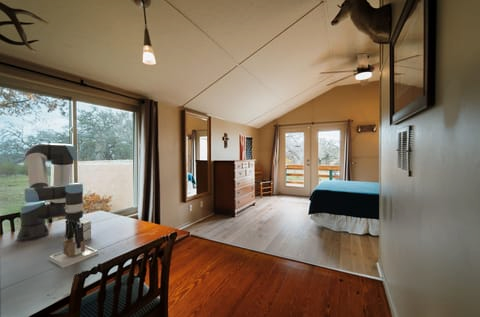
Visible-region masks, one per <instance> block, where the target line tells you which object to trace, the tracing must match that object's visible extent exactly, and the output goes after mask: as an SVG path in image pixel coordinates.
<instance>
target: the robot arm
mask: <svg viewBox="0 0 480 317" xmlns="http://www.w3.org/2000/svg"><path fill="white" fill-rule="evenodd" d="M77 157H78V156H77V152H76V148H75V145H73V144H71V143H69V144H68V143H46V142H45V143H38V144H36V145H33V146H32V147H30V148H29V149H28V150H27V151H26V153H25V155H24V160H25V163H26V164H27V169H28V170H27V172H28V173H27V174H28V186H29V188H28V187H27V188H25V189H24V202H26V203H25V204H23V205H22V206H21V207H20V212H19V214H20V228H19V230H18V233H17V236H16V241H18V242H29V241H35V240H39V239H42V238H44V237H47V236H48V235H49V234H50V230H49V227H48V226H47V224H46V220H49V219H56V218H57V219H58V218H61V217H63V218H65V234H64V237H65V238H66V240H69V239H72V238H74V236H75V243H74V244H75V255H77V254H79V253H81V242H82V241H84V237H83V223H80V222H81V220H80V219H81V218H83V217H84V202H83V200H84V184H83V183H82V182H71V181H70V180H71V178H70V177H71V166H72V165H73V164H74V162H76V161H77ZM46 162H50V164H51V165H52V166H53V183H52V184H53V185H52V186H49V185H50V184H49V179H48V173H47V164H46ZM75 228H76V229H75ZM73 235H74V236H73Z"/></svg>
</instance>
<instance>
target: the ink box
mask: <svg viewBox="0 0 480 317" xmlns="http://www.w3.org/2000/svg"><path fill="white" fill-rule="evenodd" d="M80 223H83V237H84V239H85V241H87V240H89V239H91V238H92V220H87V219H86V220H82V221H81V220H80ZM75 229H76V228H75ZM73 236H74V235H73ZM74 238H75V236H74Z"/></svg>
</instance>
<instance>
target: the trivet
mask: <svg viewBox="0 0 480 317" xmlns="http://www.w3.org/2000/svg"><path fill="white" fill-rule="evenodd" d="M98 254H99V250H98V249H96V248H93V247H90V246H88V245H86V244H85V251H84V252H82V253H79V254H77V255H74V256H71V257H69V256H67V255H65V254H63V250H62V251H60V252H57V253H53V254H51V255H49V256H48V261H50V262H52V263H53V264H56V265H57V266H58V267H61V268H63V269H64V268H67V267H69V266H72V265H74V264H77V263H79V262H81V261H83V260H84V261H85V260H86V259H89V258H91V257H94V256H96V255H98Z"/></svg>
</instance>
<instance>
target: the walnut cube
mask: <svg viewBox="0 0 480 317" xmlns="http://www.w3.org/2000/svg"><path fill="white" fill-rule="evenodd" d="M74 243H75V238H72V239H69V240H68V239H65V240H63V243H62V244H63V247H62V248H63V249H62V251H63V254H65V255H67V256H69V257H71V256H74V255H75V244H74ZM85 245H86V240H85V239H84V241H82V242H81V253H82V252H84V251H85Z"/></svg>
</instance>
